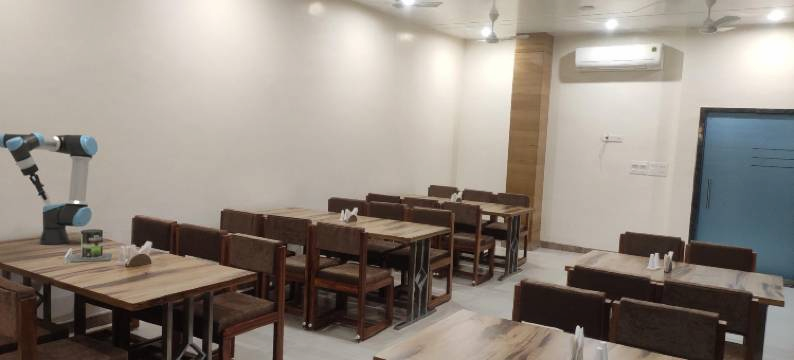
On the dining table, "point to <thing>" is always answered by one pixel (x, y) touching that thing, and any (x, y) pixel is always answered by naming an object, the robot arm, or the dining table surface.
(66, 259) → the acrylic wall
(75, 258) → the mat
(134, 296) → the dining table surface
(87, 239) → the coffee can
